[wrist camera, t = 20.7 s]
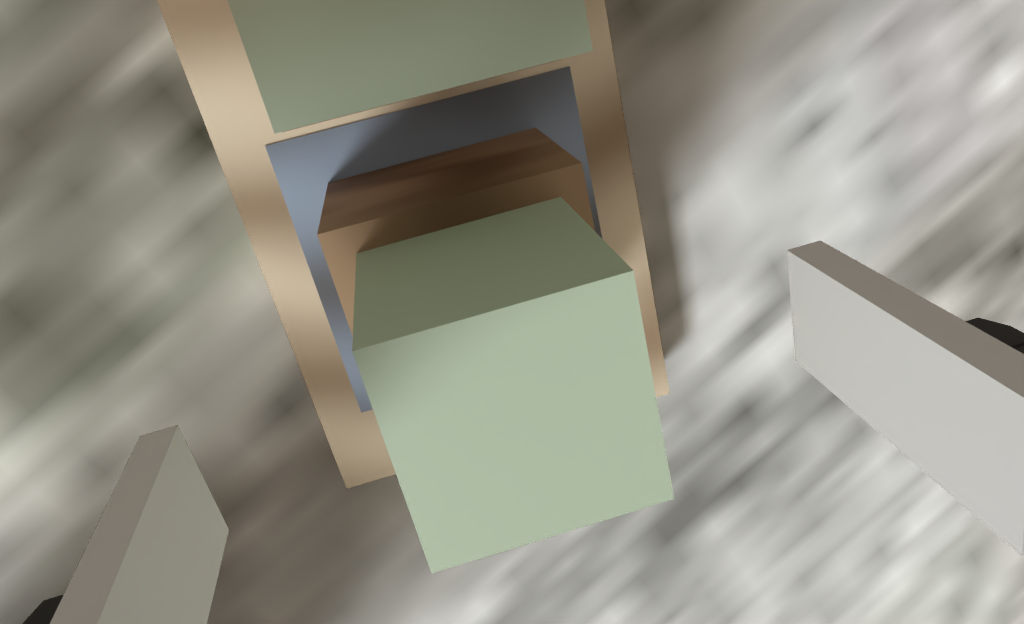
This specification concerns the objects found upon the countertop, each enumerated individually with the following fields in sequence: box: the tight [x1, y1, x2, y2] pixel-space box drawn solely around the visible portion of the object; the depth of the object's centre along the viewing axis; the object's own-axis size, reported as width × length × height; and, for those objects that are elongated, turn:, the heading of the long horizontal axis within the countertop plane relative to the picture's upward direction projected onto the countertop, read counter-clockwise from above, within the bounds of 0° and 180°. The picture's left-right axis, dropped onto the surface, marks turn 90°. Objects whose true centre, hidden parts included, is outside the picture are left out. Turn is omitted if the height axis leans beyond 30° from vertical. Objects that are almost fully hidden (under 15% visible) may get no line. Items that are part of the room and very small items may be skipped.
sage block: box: [352, 197, 674, 573], centre depth 18 cm, size 6×6×6 cm
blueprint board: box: [157, 0, 669, 489], centre depth 26 cm, size 22×13×2 cm, turn 13°
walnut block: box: [317, 127, 595, 336], centre depth 24 cm, size 7×7×6 cm
